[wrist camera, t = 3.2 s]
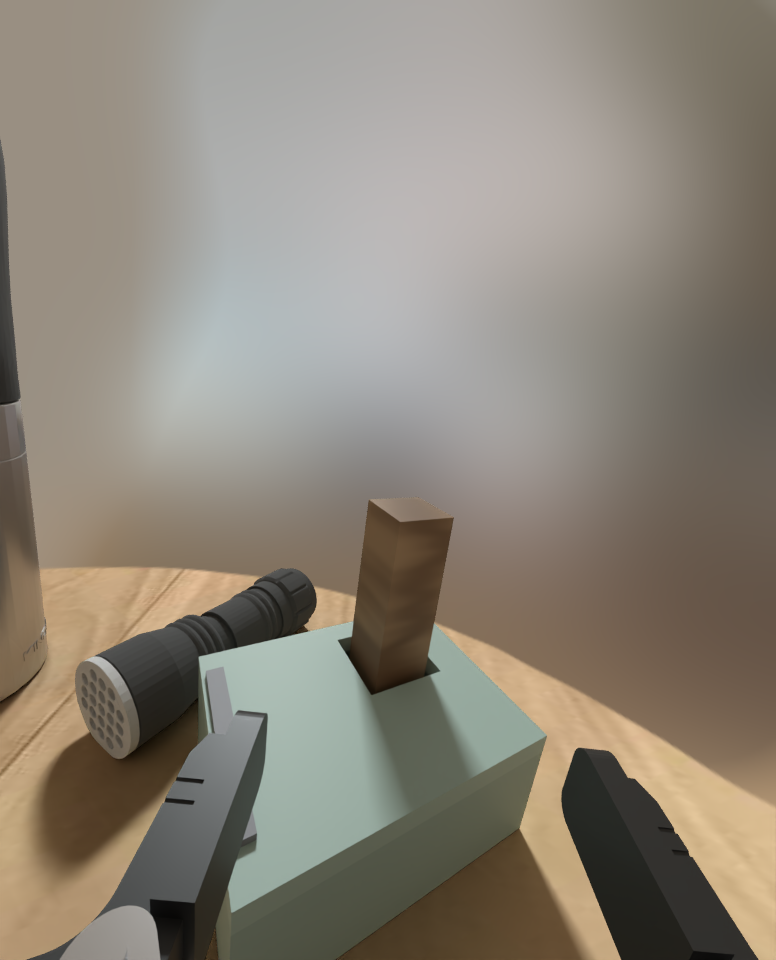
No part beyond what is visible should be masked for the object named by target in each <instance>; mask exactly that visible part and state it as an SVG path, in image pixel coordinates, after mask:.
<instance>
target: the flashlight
mask: <svg viewBox="0 0 776 960" xmlns="http://www.w3.org/2000/svg"><path fill="white" fill-rule="evenodd" d="M316 603H317V599H316V593H315V589H314V587H313V585H312V583H311V581H310V580H309V579H308V577H307V576H306V575H305V574H303V573H302V572H301V571H299V570H296V569H279V570H276V571H274V572H272V573H270V574H268V575H266V576H264V577H262V578H260V579H258V580H257V581H256V582H255V583H254V585H253V586H251V587H249V588H248V589H247V590H245V591H242V592H241V593H239V594H236V595H235V596H234V597H232V598H231V600H229V601H227V602H225V603H223V604H221V605H219V606H217V607H215V608H213V609H211V610H209V611H207V612H205V613H204V614H202V615H201V616H197V615H187V616H184V617H183V618H182V619H178V620H176V621H175V622H174V623H170V624H168V625H167V626H166V627H165V628H163V629H159V630H155V631H151V632H147V633H142V634H139V635H137V636H135V637H133V638H131V639H129V640H127V641H125V642H122V643H120V644H118V645H116V646H114V647H112V648H110V649H108V650H106V651H104V652H102V653H100V654H98V655H96V656H94V657H91V658H89V659H87V660H85V661H83V662H81V663H80V664H79V666H78V667H77V670H76V676H75V687H76V694H77V700H78V704H79V707H80V710H81V713H82V715H83V718H84V721H85V723H86V725H87V727H88V729H89V731H90V733H91V735H92V736H93V738H94V739H95V740H96V741H97V742H98V743H99V744H100V745H101V746H102V747H103V748H104V749H105V750H106V751H107V752H108V753H109V754H110V755H111V756H112V757H113V758H116V759H122V758H124V757H126V756H127V755H128V754H130V753H131V752H132V751H134V750H135V749H137V748H138V747H139V746H141V745H142V744H144V743H145V742H146V741H148V740H149V739H150V738H152V737H153V736H155V735H156V734H157V733H159V732H160V731H162V730H163V729H164V728H166V727H167V726H168V725H170V724H171V723H173V722H174V721H175V720H177V719H178V718H179V717H180V716H181V715H182V714H183V713H184V712H185V711H186V710H187V709H188V707H189V706H190V705H191V704H192V703H193V702H194V701H195V700H196V699H197V698H198V679H199V657H200V656H204V655H209V654H213V653H217V652H222V651H226V650H230V649H235V648H239V647H244V646H248V645H252V644H257V643H261V642H265V641H270V640H274V639H279V638H283V637H287V636H289V635H291V634H292V633H294V632H295V631H296V630H298V629H299V628H301V627H302V626H303V625H305V624H306V623H307V622H308V621H309V618H310V617H311V615H312V614H313V613H314V611H315V608H316Z"/></svg>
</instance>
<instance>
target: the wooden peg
mask: <svg viewBox="0 0 776 960" xmlns="http://www.w3.org/2000/svg"><path fill="white" fill-rule="evenodd" d="M453 519H454V517H452V516H450V515H449V514H447V513H445V512H443V511H441V510H440V509H438V508H436V507H434V506H433V505H431V504H429V503H427V502H426V501H424V500H422V499H420V498H419V497H413V498H392V499H370V500H369V503H368V511H367V519H366V527H365V535H364V543H363V551H362V558H361V566H360V574H359V582H358V590H357V598H356V606H355V614H354V622H353V630H352V638H351V646H350V654H349V660H350V661H351V663H352V665H353V666H354V668H355V669H356V671H357V673H358V674H359V676H360V678H361V679H362V681H363V682H364V684H365V686H366V687H367V689H368V691H369V692H370V694H371V695H374V694H377V693H380V692H383V691H385V690H388V689H391V688H394V687H397V686H400V685H403V684H406V683H408V682H411V681H414V680H417V679H420V678H423V677H424V674H425V669H426V664H427V658H428V653H429V647H430V642H431V637H432V631H433V626H434V621H435V615H436V610H437V604H438V599H439V594H440V588H441V583H442V578H443V573H444V567H445V562H446V557H447V551H448V546H449V540H450V535H451V530H452V524H453Z"/></svg>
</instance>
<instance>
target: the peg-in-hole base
mask: <svg viewBox="0 0 776 960" xmlns="http://www.w3.org/2000/svg"><path fill="white" fill-rule="evenodd" d="M353 622H354V621H353ZM353 622H348V623H344V624H340V625H335V626H331V627H327V628H322V629H318V630H314V631H309V632H305V633H300V634H296V635H292V636H287V637H283V638H279V639H274V640H270V641H265V642H261V643H257V644H252V645H248V646H244V647H239V648H235V649H230V650H226V651H222V652H217V653H213V654H209V655H204V656H200V657H199V679H198V744H199V743H200V742H201V741H202V740H203V739H204V738H205V737H206V736H207V735H208V734H209V733H214V734H224V735H225V734H226V732H227V730H228V728H229V726H230V724H231V721H232V719H233V717H234V715H235V713H236V712H237V711H238V710H242V711H251V712H260V713H267V714H268V724H267V739H266V755H265V764H264V770H263V775H262V779H261V783H260V787H259V790H258V793H257V797H256V800H255V803H254V806H253V809H252V812H251V816H250V819H249V822H248V825H247V828H246V831H245V834H244V838H243V841H242V844H241V847H240V850H239V853H238V856H237V860H236V863H235V866H234V869H233V872H232V875H231V879H230V882H229V885H228V888H227V891H226V894H225V897H224V901H223V904H222V907H221V910H220V913H219V916H218V920H217V923H216V926H215V927H216V938H217V948H218V958H219V960H336V959H337V958H338V957H340V956H341V955H343V954H344V953H345V952H347V951H348V950H350V949H351V948H352V947H354V946H355V945H357V944H358V943H359V942H361V941H362V940H364V939H365V938H366V937H368V936H369V935H371V934H372V933H373V932H375V931H376V930H378V929H379V928H380V927H382V926H383V925H385V924H386V923H387V922H389V921H390V920H392V919H393V918H394V917H396V916H397V915H399V914H400V913H401V912H403V911H404V910H405V909H407V908H408V907H410V906H411V905H412V904H414V903H415V902H417V901H418V900H419V899H421V898H422V897H424V896H425V895H426V894H428V893H429V892H431V891H432V890H433V889H435V888H436V887H438V886H439V885H440V884H442V883H443V882H445V881H446V880H447V879H449V878H450V877H452V876H453V875H454V874H456V873H457V872H459V871H460V870H461V869H463V868H464V867H466V866H467V865H468V864H470V863H471V862H473V861H474V860H475V859H477V858H478V857H480V856H481V855H482V854H484V853H485V852H487V851H488V850H489V849H491V848H492V847H493V846H495V845H496V844H498V843H499V842H500V841H502V840H503V839H505V838H506V837H507V836H509V835H510V834H512V833H513V832H514V831H516V830H517V829H519V828H520V825H521V821H522V818H523V814H524V811H525V808H526V804H527V801H528V798H529V794H530V791H531V788H532V784H533V781H534V778H535V774H536V771H537V768H538V764H539V761H540V757H541V754H542V751H543V747H544V744H545V741H546V737H547V735H546V734H545V733H544V732H543V731H542V730H541V729H540V728H539V727H538V726H537V725H536V724H535V723H534V722H533V721H532V720H531V719H530V718H529V717H528V716H527V715H526V714H525V713H524V712H523V711H522V710H521V709H520V708H519V707H518V706H517V705H516V704H515V703H514V702H513V701H512V700H511V699H510V698H509V697H508V696H507V695H506V694H505V693H504V692H503V691H502V690H501V689H500V688H499V687H498V686H497V685H496V684H495V683H494V682H493V681H492V680H491V679H490V678H489V677H488V676H487V675H486V674H485V673H484V672H483V671H482V670H481V669H480V668H479V667H478V666H477V665H476V664H474V663H473V662H472V661H471V660H470V659H469V658H468V657H467V656H466V655H465V654H464V653H463V652H462V651H461V650H460V649H459V648H458V647H457V646H456V645H455V644H454V643H453V642H452V641H451V640H450V639H449V638H448V637H447V636H446V635H445V634H444V633H443V632H442V631H441V630H440V629H439V628H438V627H437V626H436V625H435V624H434V626H433V631H432V637H431V642H430V647H429V653H428V658H427V664H426V669H425V674H424V677H423V678H420V679H417V680H414V681H411V682H408V683H406V684H403V685H400V686H397V687H394V688H391V689H388V690H385V691H383V692H380V693H377V694H374V695H371V694H370V692H369V691H368V689H367V687H366V686H365V684H364V682H363V681H362V679H361V678H360V676H359V674H358V673H357V671H356V669H355V668H354V666H353V665H352V663H351V661H350V660H349V654H350V646H351V638H352V630H353Z"/></svg>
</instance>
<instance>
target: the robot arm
mask: <svg viewBox="0 0 776 960" xmlns="http://www.w3.org/2000/svg"><path fill="white" fill-rule="evenodd" d="M7 220H8V219H7V192H6V180H5V165H4V158H3V153H2V147H1V141H0V701H2V700H3V699H5V698H6V697H8V696H9V695H11V694H13V693H14V692H16V691H17V690H18V689H19V688H20V687H22V686H23V685H24V684H25V683H27V682H28V681H29V680H30V679H31V678H32V677H33V676H34V675H35V674H36V672H37V671H38V670H39V669H40V668H41V666H42V665H43V663H44V661H45V659H46V657H47V651H48V645H47V636H46V630H47V628H46V619H45V617H44V609H43V598H42V589H41V580H40V571H39V562H38V553H37V544H36V536H35V526H34V517H33V508H32V499H31V491H30V481H29V473H28V463H27V454H26V445H25V436H24V428H23V418H22V409H21V400H20V390H19V381H18V374H17V373H18V372H17V361H16V349H15V337H14V328H13V327H14V326H13V317H12V307H11V294H10V276H9V257H8V256H9V254H8V221H7ZM267 724H268V714H267V713H260V712H251V711H242V710H238V711H237V712H236V713H235V715H234V717H233V719H232V721H231V724H230V726H229V728H228V730H227V732H226V734H225V735H224V734H214V733H209V734H208V735H207V736H206V737H205V738H204V739H203V740H202V741H201V742H200V743H199V744H198V745H197V746H196V747H195V748H194V749H193V750H192V751H191V752H190V753H189V755H188V757H187V759H186V761H185V763H184V764H183V766H182V768H181V770H180V772H179V774H178V776H177V779H176V781H175V782H174V783H173V785H172V787H171V789H170V791H169V793H168V794H167V796H166V799H165V802H164V803H163V804H162V806H161V807H160V809H159V811H158V813H157V815H156V817H155V819H154V821H153V822H152V824H151V826H150V828H149V830H148V832H147V834H146V836H145V837H144V839H143V841H142V843H141V845H140V847H139V849H138V850H137V852H136V854H135V856H134V858H133V860H132V862H131V864H130V865H129V867H128V869H127V871H126V873H125V875H124V877H123V879H122V880H121V882H120V884H119V886H118V888H117V890H116V891H115V893H114V895H113V896H112V898H111V900H110V901H109V902H108V904H107V905H106V906H105V908H104V909H103V910H102V911H101V913H100V914H99V915H98V916H97V917H96V918H95V919H94V920H93V921H92V922H91V923H90V924H89V925H88V926H87V927H86V928H85V929H84V930H83V931H81V932H80V933H79V934H78V935H77V936H75V937H74V938H72V939H71V940H69V941H68V942H67V943H65V944H63V945H62V946H60V947H58V948H56V949H54V950H52V951H50V952H47V953H45V954H42V955H39V956H36V957H33V958H30V959H27V960H205V957H206V954H207V951H208V948H209V945H210V942H211V938H212V935H213V932H214V929H215V926H216V923H217V920H218V916H219V913H220V910H221V907H222V904H223V901H224V897H225V894H226V891H227V888H228V885H229V882H230V879H231V875H232V872H233V869H234V866H235V863H236V860H237V856H238V853H239V850H240V847H241V844H242V841H243V838H244V834H245V831H246V828H247V825H248V822H249V819H250V816H251V812H252V809H253V806H254V803H255V800H256V797H257V793H258V790H259V787H260V783H261V779H262V775H263V770H264V764H265V755H266V739H267ZM561 799H562V809H563V814H564V818H565V821H566V824H567V826H568V829H569V831H570V834H571V836H572V839H573V841H574V844H575V846H576V849H577V851H578V854H579V856H580V859H581V861H582V863H583V866H584V868H585V871H586V873H587V876H588V878H589V881H590V883H591V886H592V888H593V891H594V893H595V896H596V898H597V901H598V903H599V906H600V908H601V911H602V913H603V916H604V918H605V920H606V923H607V925H608V928H609V930H610V933H611V935H612V938H613V940H614V943H615V945H616V948H617V950H618V953H619V955H620V958H621V960H758V958H757V957H756V955H755V954H754V952H753V951H752V949H751V948H750V946H749V945H748V943H747V942H746V940H745V938H744V937H743V935H742V934H741V932H740V931H739V929H738V928H737V926H736V924H735V923H734V921H733V920H732V918H731V917H730V915H729V913H728V912H727V910H726V909H725V907H724V906H723V904H722V903H721V901H720V899H719V898H718V896H717V895H716V893H715V892H714V890H713V889H712V887H711V885H710V884H709V882H708V881H707V879H706V878H705V876H704V874H703V873H702V871H701V870H700V868H699V867H698V865H697V864H696V862H695V860H694V859H693V857H690V856H689V853H688V852H689V851H688V849H687V848H686V846H685V845H684V843H683V842H682V840H681V839H680V837H679V835H678V834H675V832H674V828H673V826H672V824H671V823H670V821H669V820H668V818H667V817H666V815H665V814H664V812H663V810H662V809H661V807H660V806H659V804H658V803H657V801H656V800H655V799H654V798H653V797H652V796H651V795H650V794H649V793H648V792H647V791H646V790H645V789H644V788H643V787H642V786H641V785H640V784H639V783H638V782H637V781H636V780H635V779H631V778H628V777H627V776H626V774H625V772H624V771H623V769H622V767H621V766H620V764H619V763H618V761H617V759H616V758H615V756H614V755H613V754H612V753H611V752H609V751H605V750H595V749H586V748H578V749H576V751H575V753H574V756H573V759H572V762H571V765H570V768H569V771H568V774H567V777H566V780H565V783H564V786H563V790H562V798H561Z"/></svg>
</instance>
